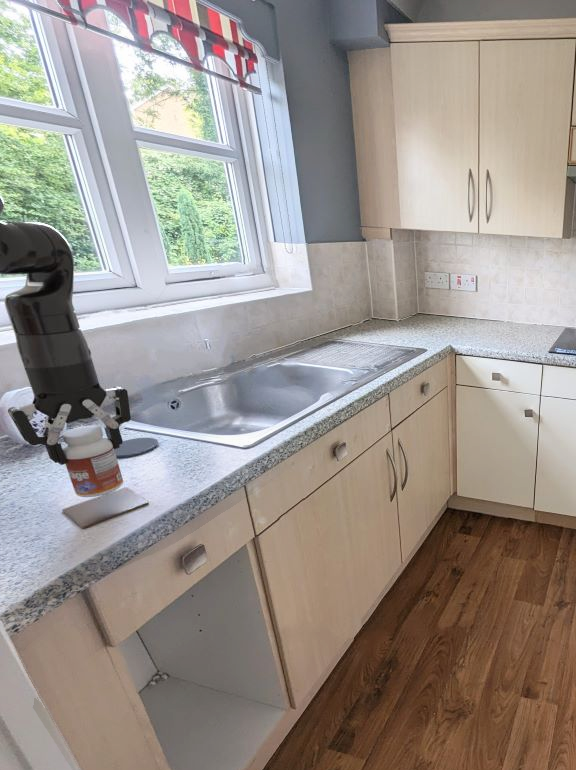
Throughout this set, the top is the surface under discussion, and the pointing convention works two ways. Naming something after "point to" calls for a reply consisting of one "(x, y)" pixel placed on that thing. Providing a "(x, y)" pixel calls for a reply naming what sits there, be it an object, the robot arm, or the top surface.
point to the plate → (135, 447)
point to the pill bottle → (91, 462)
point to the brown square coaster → (104, 507)
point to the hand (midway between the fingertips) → (89, 454)
